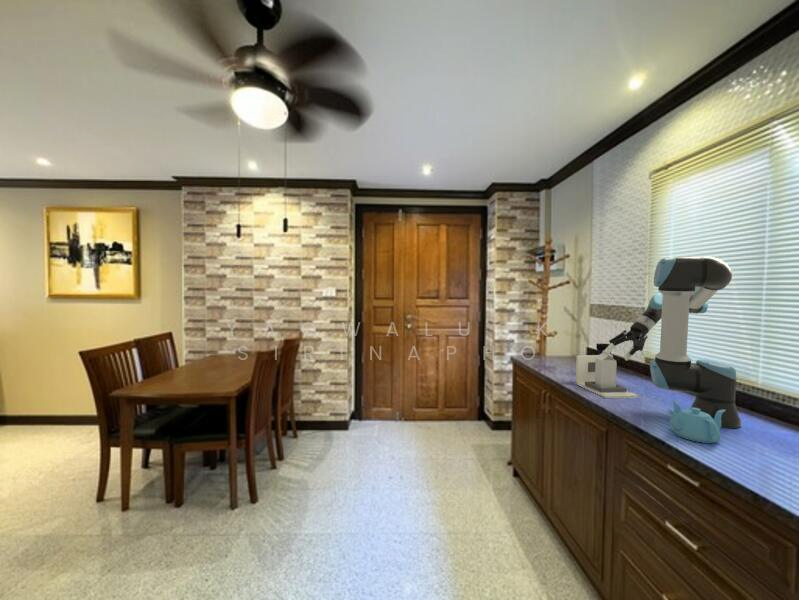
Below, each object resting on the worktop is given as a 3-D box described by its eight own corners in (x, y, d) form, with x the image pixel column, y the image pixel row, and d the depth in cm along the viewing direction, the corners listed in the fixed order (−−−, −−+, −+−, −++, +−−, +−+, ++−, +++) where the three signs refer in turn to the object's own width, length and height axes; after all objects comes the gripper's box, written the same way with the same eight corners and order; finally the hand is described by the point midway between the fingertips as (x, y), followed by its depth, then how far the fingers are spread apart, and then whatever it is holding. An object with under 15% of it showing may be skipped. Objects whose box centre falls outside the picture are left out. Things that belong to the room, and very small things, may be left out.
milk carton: (600, 390, 174) (601, 352, 174) (594, 386, 181) (595, 350, 181) (615, 390, 173) (616, 353, 173) (609, 387, 181) (610, 350, 180)
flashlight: (594, 378, 203) (595, 344, 202) (597, 375, 209) (597, 342, 208) (609, 380, 198) (610, 345, 197) (612, 378, 204) (613, 344, 203)
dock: (637, 397, 167) (638, 364, 166) (606, 398, 165) (607, 365, 164) (603, 384, 190) (603, 355, 190) (575, 384, 189) (576, 355, 188)
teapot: (720, 451, 112) (721, 419, 111) (662, 436, 123) (663, 407, 122) (724, 438, 122) (725, 409, 121) (670, 425, 133) (671, 398, 132)
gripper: (668, 334, 167) (638, 366, 166) (627, 329, 192) (602, 356, 191) (658, 323, 167) (628, 355, 165) (619, 319, 191) (593, 347, 190)
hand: (614, 356), depth 178 cm, fingers open, 13 cm apart
